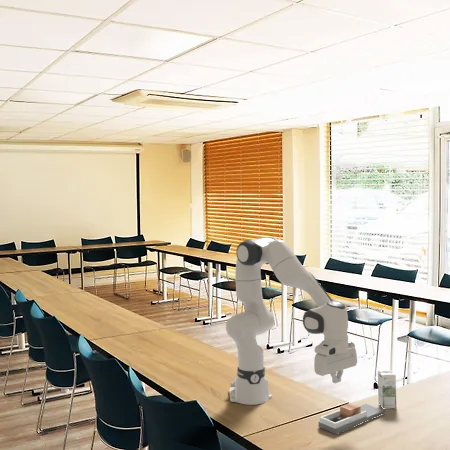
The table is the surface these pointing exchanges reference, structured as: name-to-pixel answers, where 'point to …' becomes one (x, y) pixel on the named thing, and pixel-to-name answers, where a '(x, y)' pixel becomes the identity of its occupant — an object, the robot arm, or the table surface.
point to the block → (349, 410)
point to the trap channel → (348, 419)
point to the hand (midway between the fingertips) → (336, 382)
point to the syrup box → (387, 389)
